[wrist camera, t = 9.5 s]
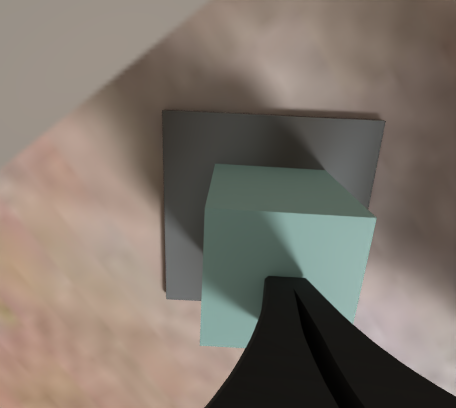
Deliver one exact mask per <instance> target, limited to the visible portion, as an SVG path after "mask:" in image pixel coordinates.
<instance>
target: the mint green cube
mask: <svg viewBox="0 0 456 408" xmlns="http://www.w3.org/2000/svg"><path fill="white" fill-rule="evenodd" d="M376 219H377V218H376V217H375V216H374V215H373V214H372V213H371V212H370V211H369V210H368V209H367V208H365V207H364V206H363V205H362V204H361V203H360V202H359V201H358V200H357V199H356V198H355V197H354V196H353V195H351V194H350V193H349V192H348V191H347V190H346V189H345V188H344V187H343V186H342V185H341V184H340V183H339V182H338V181H336V180H335V179H334V178H333V177H332V176H331V175H330V174H329V173H328V172H327V171H326V170H314V169H297V168H280V167H263V166H246V165H229V164H215V167H214V171H213V175H212V179H211V184H210V188H209V192H208V196H207V201H206V205H205V216H204V244H203V273H202V301H201V329H200V346H218V347H235V348H246V346H247V344H248V342H249V340H250V338H251V336H252V334H253V332H254V329H255V327H256V324H257V321H258V319H259V316H260V313H261V310H262V300H263V290H264V280H265V278H266V277H268V276H280V277H298V278H306V279H307V280H308V281H309V282H310V283H311V284H312V285H313V286H314V287H315V288H316V289H317V290H318V291H319V292H320V293H321V294H322V295H323V296H324V297H325V298H326V299H327V300H328V301H329V302H330V303H331V304H332V305H333V306H334V307H335V308H336V309H337V310H338V311H339V312H340V313H341V314H342V315H343V316H344V317H345V318H346V319H348V320H349V321H350V322H351V323H352V324H353V322H354V318H355V313H356V309H357V304H358V300H359V295H360V291H361V286H362V282H363V277H364V273H365V269H366V264H367V260H368V255H369V251H370V246H371V242H372V237H373V233H374V228H375V224H376Z"/></svg>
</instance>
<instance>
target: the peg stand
mask: <svg viewBox="0 0 456 408" xmlns="http://www.w3.org/2000/svg"><path fill="white" fill-rule="evenodd" d="M162 117H163V165H164V212H165V260H166V299H173V300H194V301H202V273H203V244H204V216H205V205H206V201H207V196H208V192H209V188H210V184H211V179H212V175H213V171H214V167H215V164H229V165H246V166H263V167H280V168H297V169H314V170H326V171H327V172H328V173H329V174H330V175H331V176H332V177H333V178H334V179H335V180H336V181H338V182H339V183H340V184H341V185H342V186H343V187H344V188H345V189H346V190H347V191H348V192H349V193H350V194H351V195H353V196H354V197H355V198H356V199H357V200H358V201H359V202H360V203H361V204H362V205H363V206H364V207H365V208H367V209H368V207H369V202H370V197H371V192H372V187H373V182H374V177H375V172H376V167H377V162H378V157H379V152H380V147H381V142H382V137H383V132H384V127H385V122H386V121H383V120H368V119H347V118H326V117H305V116H284V115H263V114H242V113H221V112H199V111H178V110H162Z"/></svg>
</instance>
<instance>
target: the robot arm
mask: <svg viewBox="0 0 456 408" xmlns="http://www.w3.org/2000/svg"><path fill="white" fill-rule="evenodd" d="M205 408H456V396H454V395H452V394H450V393H449V392H447V391H445V390H444V389H442V388H440V387H438V386H437V385H435V384H434V383H432V382H431V381H429V380H427V379H426V378H424V377H423V376H421V375H419V374H418V373H416V372H415V371H413V370H412V369H410V368H409V367H407V366H406V365H404V364H403V363H401V362H400V361H398V360H397V359H396V358H394V357H393V356H392V355H390V354H389V353H388V352H386V351H385V350H384V349H382V348H381V347H380V346H378V345H377V344H376V343H374V342H373V341H372V340H371V339H369V338H368V337H367V336H366V335H365V334H364V333H362V332H361V331H360V330H359V329H358V328H357V327H355V326H354V325H353V324H352V323H351V322H350V321H349V320H348V319H346V318H345V317H344V316H343V315H342V314H341V313H340V312H339V311H338V310H337V309H336V308H335V307H334V306H333V305H332V304H331V303H330V302H329V301H328V300H327V299H326V298H325V297H324V296H323V295H322V294H321V293H320V292H319V291H318V290H317V289H316V288H315V287H314V286H313V285H312V284H311V283H310V282H309V281H308V280H307V279H306V278H298V277H280V276H268V277H266V278H265V280H264V290H263V300H262V310H261V313H260V316H259V319H258V321H257V324H256V327H255V329H254V332H253V334H252V336H251V338H250V340H249V342H248V344H247V346H246V348H245V350H244V352H243V354H242V356H241V357H240V359H239V361H238V362H237V364H236V366H235V367H234V369H233V371H232V372H231V374H230V375H229V377H228V378H227V379H226V381H225V382H224V383H223V385H222V386H221V387H220V389H219V390H218V391H217V393H216V394H215V396H214V397H213V398H212V399H211V401H210V402H209V403H208V404H207V405H206V406H205Z"/></svg>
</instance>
